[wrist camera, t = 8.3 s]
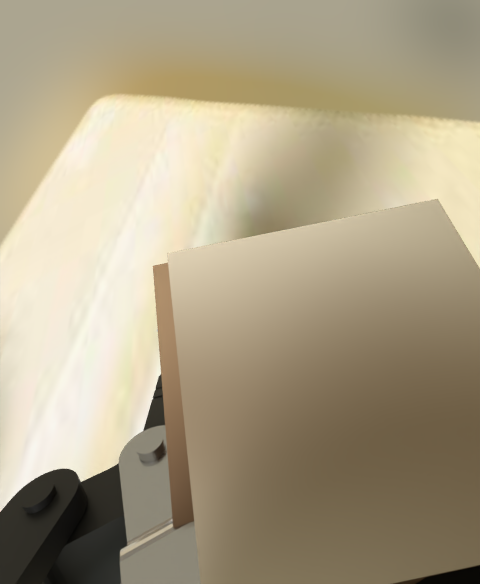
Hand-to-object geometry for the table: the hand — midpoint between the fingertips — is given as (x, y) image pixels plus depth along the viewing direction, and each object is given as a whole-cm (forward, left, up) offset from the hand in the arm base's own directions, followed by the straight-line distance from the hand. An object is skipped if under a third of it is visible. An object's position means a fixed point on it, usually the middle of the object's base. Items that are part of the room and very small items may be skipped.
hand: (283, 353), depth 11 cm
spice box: (+2, +1, -5) cm, 6 cm away
